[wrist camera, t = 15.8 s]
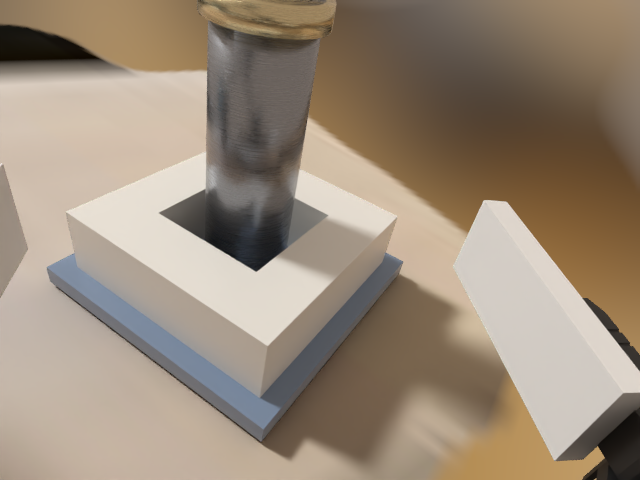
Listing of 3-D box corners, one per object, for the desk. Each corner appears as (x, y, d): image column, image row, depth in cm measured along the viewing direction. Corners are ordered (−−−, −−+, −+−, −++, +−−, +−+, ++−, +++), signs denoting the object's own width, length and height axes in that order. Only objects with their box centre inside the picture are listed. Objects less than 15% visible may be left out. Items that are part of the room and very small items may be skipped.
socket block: (50, 281, 24) (31, 211, 21) (231, 184, 34) (234, 128, 31) (261, 441, 19) (272, 378, 16) (398, 273, 29) (420, 216, 26)
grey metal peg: (176, 266, 25) (166, -26, 16) (239, 225, 28) (258, -29, 20) (250, 314, 23) (283, 15, 14) (307, 264, 27) (360, 3, 18)
